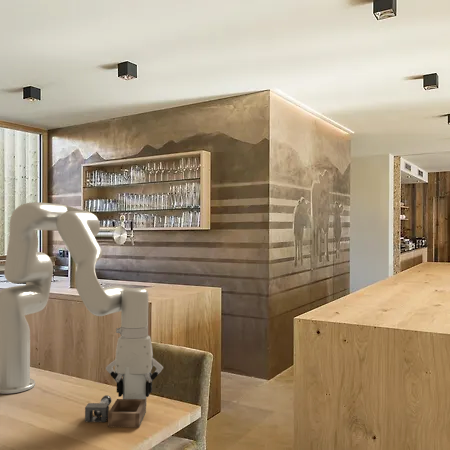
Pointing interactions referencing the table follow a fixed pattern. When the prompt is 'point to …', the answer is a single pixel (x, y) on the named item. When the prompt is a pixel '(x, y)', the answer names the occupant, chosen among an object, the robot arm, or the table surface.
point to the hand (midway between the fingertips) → (134, 394)
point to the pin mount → (96, 407)
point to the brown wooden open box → (127, 413)
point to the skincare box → (134, 386)
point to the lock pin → (104, 400)
